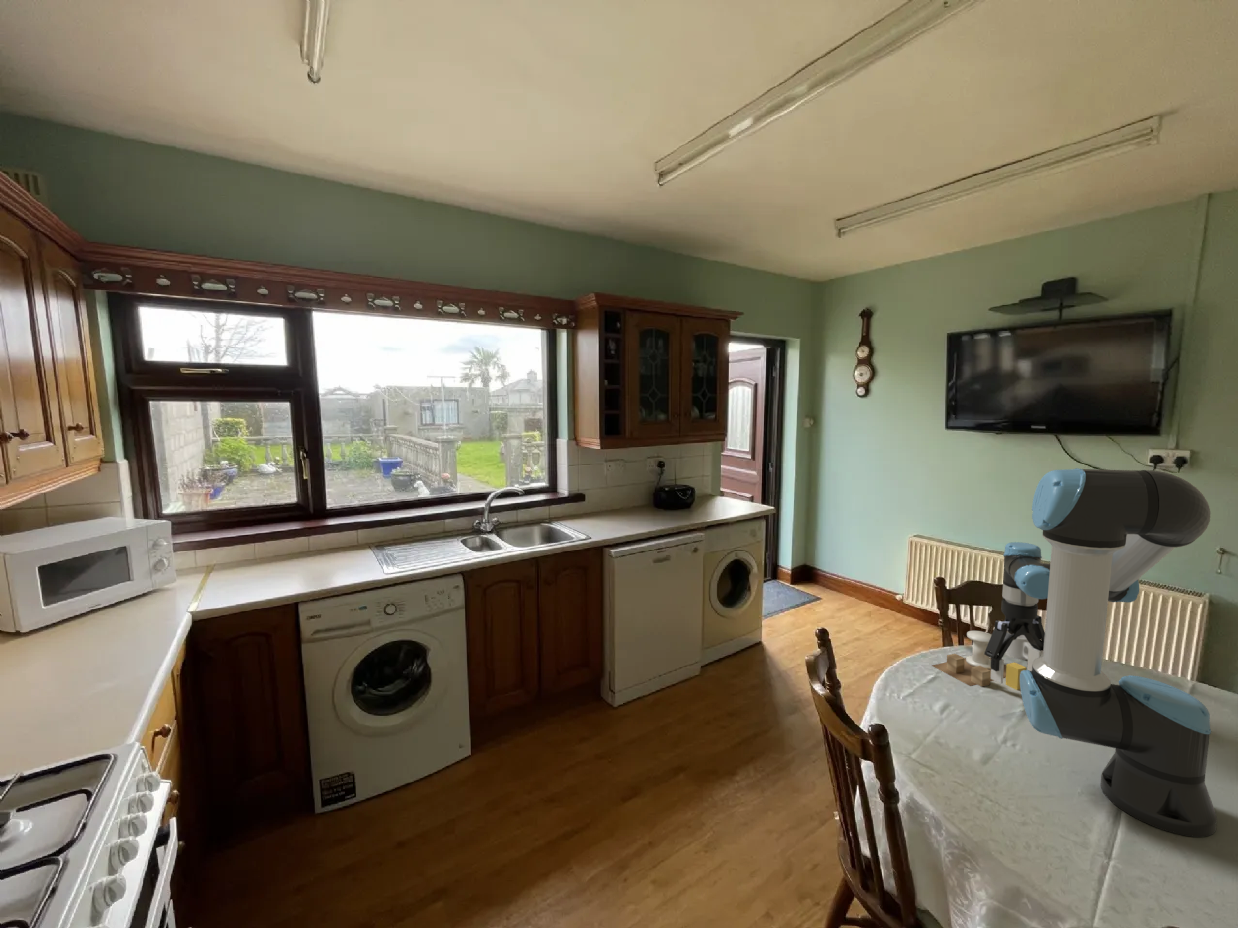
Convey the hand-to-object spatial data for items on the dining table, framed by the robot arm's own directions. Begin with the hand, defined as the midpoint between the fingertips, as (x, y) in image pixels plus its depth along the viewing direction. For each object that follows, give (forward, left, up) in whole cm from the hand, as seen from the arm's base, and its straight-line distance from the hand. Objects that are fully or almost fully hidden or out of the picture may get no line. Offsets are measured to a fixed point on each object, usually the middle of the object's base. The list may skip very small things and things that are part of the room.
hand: (1015, 676), depth 136 cm
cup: (+11, -18, -4) cm, 21 cm away
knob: (+12, -3, -3) cm, 12 cm away
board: (+10, +1, -4) cm, 10 cm away
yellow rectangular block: (0, 0, -4) cm, 4 cm away
